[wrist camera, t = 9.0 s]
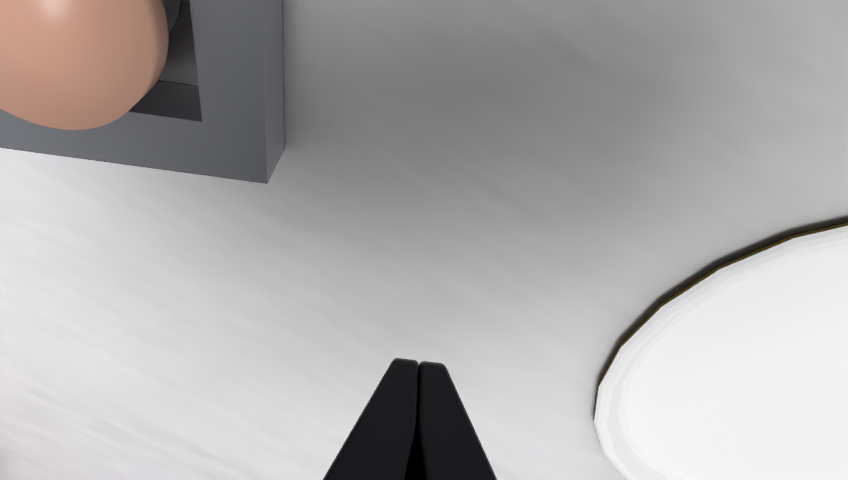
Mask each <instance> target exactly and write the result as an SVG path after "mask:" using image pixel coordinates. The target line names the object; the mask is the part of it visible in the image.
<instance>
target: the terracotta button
mask: <svg viewBox="0 0 848 480" xmlns="http://www.w3.org/2000/svg"><path fill="white" fill-rule="evenodd" d="M179 10H180V0H0V109H2V110H4V111H6V112H8V113H10V114H12V115H14V116H16V117H19V118H21V119H24V120H26V121H29V122H32V123H35V124H38V125H42V126H46V127H51V128H56V129H65V130H85V129H91V128H97V127H100V126H103V125H106V124H109V123H111V122H113V121H115V120H117V119H118V118H120V117H121V116H122V115H124V114H125V113H126V112H128V111H129V110H130V109H131V108H132V107H133V106H134V105H135V104H136V103H137V102H138V101H139V100H140V99H141V98H143V97H144V96H145V95H146V94H147V93H148V92H149V91H150V89H151V88H152V87H153V86H154V85H155V83H156V82H157V80H158V79H159V77H160V75H161V73H162V71H163V68H164V66H165V62H166V58H167V53H168V41H169V37H168V33H169V32H170V31H171V29H172V28H173V26H174V24H175V23H176V20H177V18H178V14H179Z"/></svg>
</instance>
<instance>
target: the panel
mask: <svg viewBox="0 0 848 480" xmlns="http://www.w3.org/2000/svg"><path fill="white" fill-rule="evenodd" d="M189 1H190V11H191V20H192V29H193V39H194V48H195V58H196V67H197V77H198V86H199V87H198V86H191V85H184V84H177V83H170V82H163V81H157V82H156V83H155V85H154V86H153V87H152V88H151V89H150V91H149V92H148V93H147V94H146V95H145V96H144V97H143V98H141V99H140V100H139V101H138V102H137V103H136V104H135V105H134V106H133V107H132V108H131V109H130V110H129V111H128V112H126V113H125V114H124V115H122V116H121V117H120V118H118V119H117V120H115V121H113V122H111V123H109V124H106V125H103V126H100V127H97V128H91V129H85V130H65V129H56V128H51V127H46V126H42V125H38V124H35V123H32V122H29V121H26V120H24V119H21V118H19V117H16V116H14V115H12V114H10V113H8V112H6V111H4V110H2V109H0V148H7V149H14V150H21V151H29V152H36V153H44V154H51V155H59V156H66V157H73V158H81V159H88V160H96V161H103V162H110V163H118V164H125V165H133V166H140V167H147V168H155V169H162V170H170V171H177V172H185V173H192V174H199V175H207V176H214V177H222V178H229V179H236V180H244V181H251V182H259V183H266V184H267V183H268V181H269V179H270V177H271V175H272V173H273V171H274V169H275V167H276V165H277V163H278V160H279V158H280V156H281V154H282V152H283V150H284V79H283V1H282V0H189Z"/></svg>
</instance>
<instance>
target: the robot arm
mask: <svg viewBox="0 0 848 480" xmlns="http://www.w3.org/2000/svg"><path fill="white" fill-rule="evenodd" d="M323 480H497V478H496V476H495V474H494V472H493V469H492V467H491V465H490V463H489V461H488V458H487V456H486V454H485V452H484V450H483V447H482V445H481V443H480V441H479V439H478V436H477V434H476V432H475V430H474V428H473V425H472V423H471V421H470V419H469V417H468V414H467V412H466V410H465V408H464V406H463V403H462V401H461V399H460V397H459V395H458V392H457V390H456V388H455V386H454V384H453V381H452V379H451V377H450V375H449V373H448V370H447V368H446V367H445V365H443V364H441V363H434V362H426V361H423V362H421V363H420V364H418V362H417V361H415V360H409V359H401V358H396V359H394V360H393V361H392V363H391V364H390V366H389V368H388V369H387V371H386V373H385V374H384V376H383V378H382V380H381V381H380V383H379V385H378V386H377V388H376V390H375V391H374V393H373V395H372V397H371V398H370V400H369V402H368V403H367V405H366V407H365V409H364V410H363V412H362V414H361V415H360V417H359V419H358V420H357V422H356V424H355V426H354V427H353V429H352V431H351V432H350V434H349V436H348V438H347V439H346V441H345V443H344V444H343V446H342V448H341V449H340V451H339V453H338V455H337V456H336V458H335V460H334V461H333V463H332V465H331V467H330V468H329V470H328V472H327V473H326V475H325V477H324V478H323Z"/></svg>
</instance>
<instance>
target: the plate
mask: <svg viewBox="0 0 848 480" xmlns="http://www.w3.org/2000/svg"><path fill="white" fill-rule="evenodd" d="M593 420H594V425H595V428H596V431H597V434H598V438H599V441H600V444H601V447H602V451H603V453H604V454H605V456H606V457H607V458H608V459H609V460H610V461H611V463H612V464H613V465H614V466H615V467H616V468H617V469H618V471H619V472H620V473H621V474H622V475H623V476H624V478H626V479H627V480H848V223H844V224H840V225H836V226H831V227H827V228H823V229H818V230H814V231H810V232H806V233H801V234H797V235H793V236H790V237H788V238H785V239H783V240H781V241H778V242H776V243H773V244H771V245H769V246H766V247H764V248H761V249H759V250H757V251H754V252H752V253H750V254H747V255H745V256H742V257H740V258H738V259H735V260H733V261H730V262H728V263H726V264H723V265H721V266H719V267H717V268H716V269H714V270H712V271H711V272H709V273H708V274H706V275H705V276H703V277H702V278H700V279H699V280H697V281H696V282H694V283H692V284H691V285H689V286H688V287H686V288H685V289H683V290H682V291H680V292H679V293H677V294H675V295H674V296H672V297H671V298H669V299H668V300H666V301H665V302H663V303H662V304H660V305H659V306H658V307H657V308H656V309H655V310H654V311H653V312H652V313H651V314H650V315H649V316H648V317H647V318H646V319H645V320H644V321H643V322H642V323H641V324H640V325H639V326H638V327H637V328H636V329H635V330H634V331H633V332H632V333H631V334H630V335H629V336H628V337H627V338H626V339H625V340H624V341H623V342H622V343H621V344H620V346H619V348H618V350H617V351H616V353H615V355H614V357H613V359H612V360H611V362H610V364H609V366H608V368H607V369H606V371H605V373H604V375H603V376H602V378H601V380H600V382H599V384H598V391H597V398H596V405H595V412H594V419H593Z"/></svg>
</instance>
